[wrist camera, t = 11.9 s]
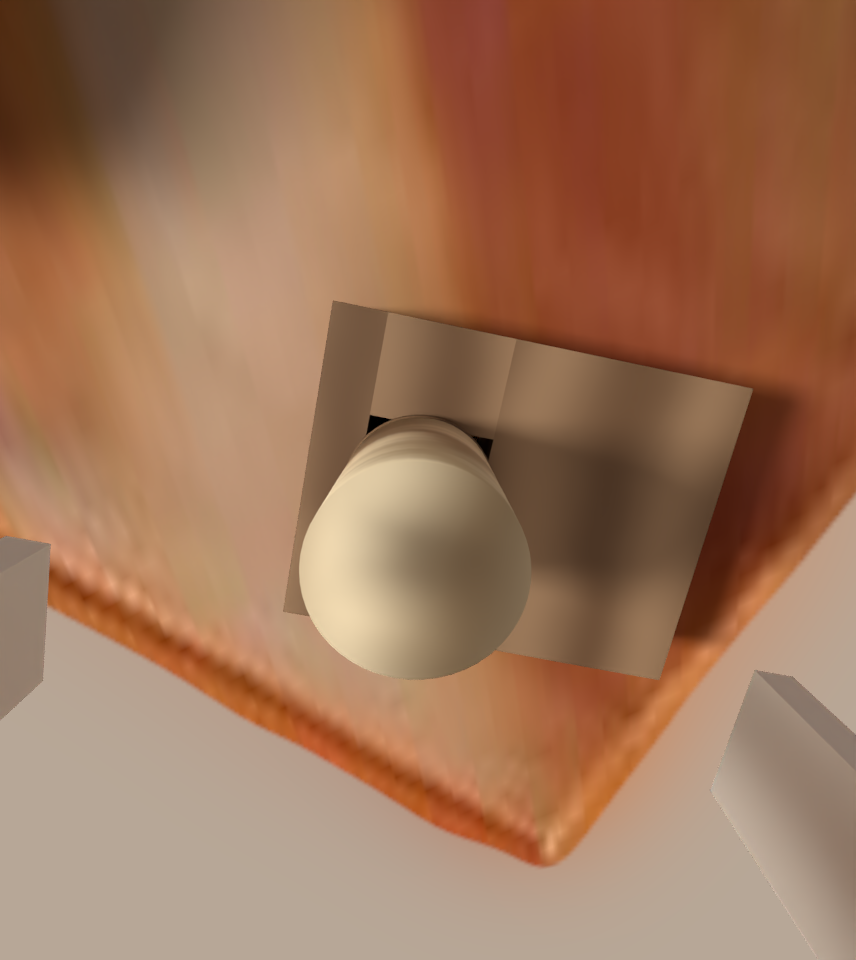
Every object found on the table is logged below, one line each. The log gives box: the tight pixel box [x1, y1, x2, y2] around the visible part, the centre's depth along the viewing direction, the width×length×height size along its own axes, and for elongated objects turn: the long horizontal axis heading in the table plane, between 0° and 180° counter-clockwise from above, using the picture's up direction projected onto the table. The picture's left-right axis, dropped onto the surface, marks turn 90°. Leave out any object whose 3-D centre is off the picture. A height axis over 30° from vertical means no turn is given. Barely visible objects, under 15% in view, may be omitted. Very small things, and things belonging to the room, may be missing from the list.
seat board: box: [283, 301, 753, 680], centre depth 29 cm, size 18×14×5 cm
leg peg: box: [299, 415, 531, 680], centre depth 24 cm, size 6×6×14 cm
